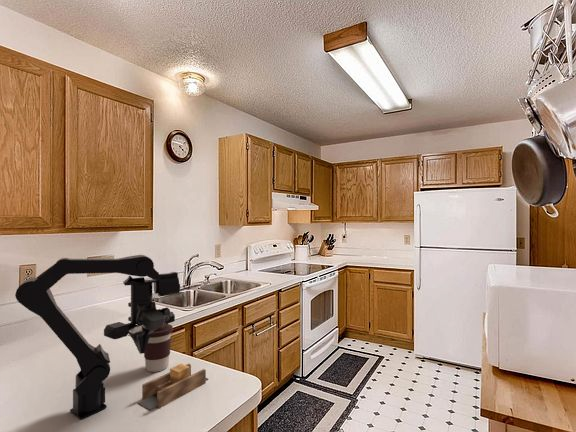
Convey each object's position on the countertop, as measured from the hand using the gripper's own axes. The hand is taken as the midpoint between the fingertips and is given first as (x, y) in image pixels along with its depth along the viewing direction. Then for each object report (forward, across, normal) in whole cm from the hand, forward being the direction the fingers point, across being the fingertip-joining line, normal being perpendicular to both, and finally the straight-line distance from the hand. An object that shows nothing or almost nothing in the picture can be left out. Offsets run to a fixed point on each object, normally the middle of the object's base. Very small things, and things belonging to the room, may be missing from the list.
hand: (141, 353), depth 93 cm
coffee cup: (+12, +13, +12) cm, 21 cm away
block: (+10, +9, -6) cm, 14 cm away
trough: (+12, +7, -6) cm, 15 cm away
